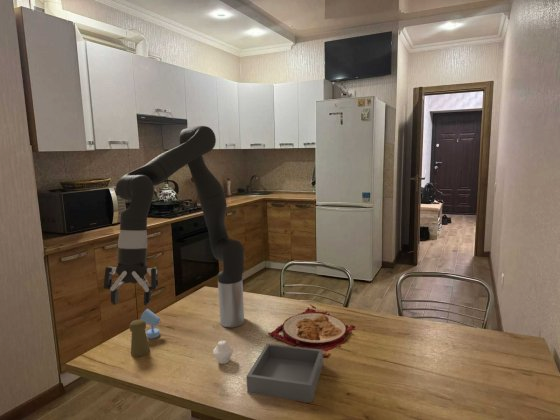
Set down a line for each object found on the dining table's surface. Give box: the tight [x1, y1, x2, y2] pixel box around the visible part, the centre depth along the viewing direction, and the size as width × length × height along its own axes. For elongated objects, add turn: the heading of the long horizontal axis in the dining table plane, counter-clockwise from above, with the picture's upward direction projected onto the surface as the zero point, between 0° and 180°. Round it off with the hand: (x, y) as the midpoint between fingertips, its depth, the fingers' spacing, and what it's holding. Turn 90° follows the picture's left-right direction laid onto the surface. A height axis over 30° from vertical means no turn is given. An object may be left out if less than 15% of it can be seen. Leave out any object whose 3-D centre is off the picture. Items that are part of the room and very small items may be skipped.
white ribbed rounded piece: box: [212, 340, 234, 365], centre depth 120 cm, size 6×6×7 cm
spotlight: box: [139, 308, 161, 339], centre depth 139 cm, size 5×10×7 cm
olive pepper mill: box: [129, 318, 151, 358], centre depth 127 cm, size 6×6×11 cm
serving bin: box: [246, 342, 324, 403], centre depth 110 cm, size 18×18×5 cm
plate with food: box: [267, 304, 357, 357], centre depth 138 cm, size 25×26×4 cm
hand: (130, 304), depth 106 cm, fingers open, 8 cm apart
